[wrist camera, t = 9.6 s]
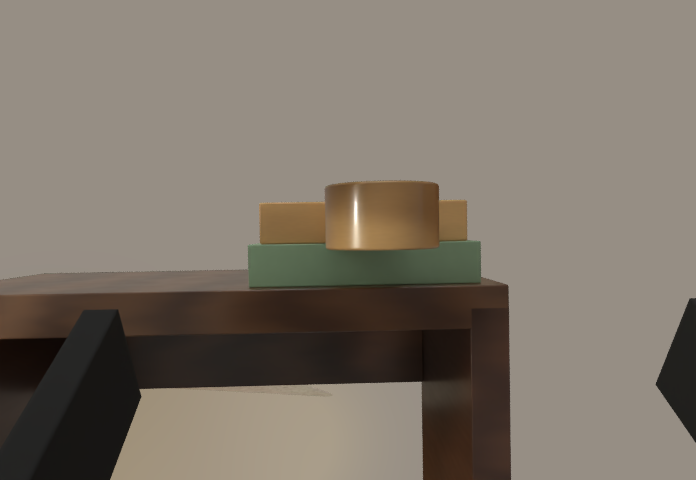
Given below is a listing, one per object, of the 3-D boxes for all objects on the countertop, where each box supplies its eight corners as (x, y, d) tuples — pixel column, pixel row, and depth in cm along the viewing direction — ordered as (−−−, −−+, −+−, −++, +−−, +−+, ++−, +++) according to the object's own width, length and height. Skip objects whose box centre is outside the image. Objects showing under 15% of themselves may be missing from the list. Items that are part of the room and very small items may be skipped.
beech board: (278, 241, 36) (278, 210, 36) (429, 238, 37) (429, 208, 37) (212, 253, 16) (210, 182, 16) (561, 247, 16) (560, 177, 16)
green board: (248, 287, 26) (247, 245, 26) (274, 270, 38) (273, 240, 38) (481, 282, 26) (480, 241, 26) (433, 267, 38) (433, 238, 38)
